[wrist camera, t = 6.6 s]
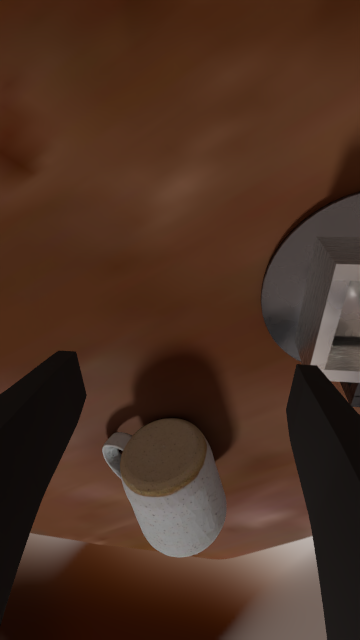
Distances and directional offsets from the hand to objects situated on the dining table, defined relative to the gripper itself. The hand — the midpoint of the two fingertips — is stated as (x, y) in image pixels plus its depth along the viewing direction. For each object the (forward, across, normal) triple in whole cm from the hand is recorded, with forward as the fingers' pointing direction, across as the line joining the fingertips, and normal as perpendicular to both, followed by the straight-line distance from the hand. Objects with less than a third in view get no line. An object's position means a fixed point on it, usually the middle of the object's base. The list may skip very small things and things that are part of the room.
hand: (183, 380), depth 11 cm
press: (+10, -10, +2) cm, 14 cm away
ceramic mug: (+11, +3, +18) cm, 22 cm away
